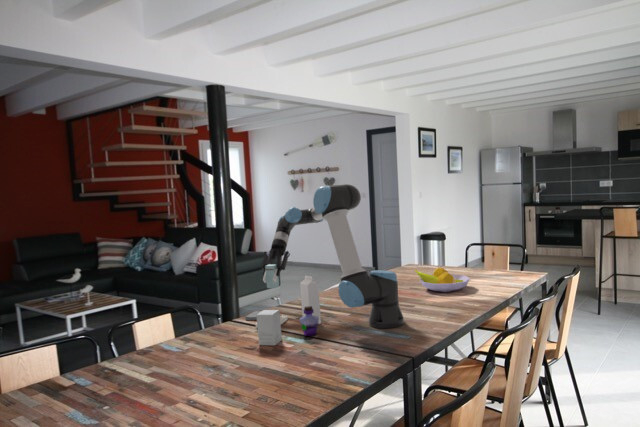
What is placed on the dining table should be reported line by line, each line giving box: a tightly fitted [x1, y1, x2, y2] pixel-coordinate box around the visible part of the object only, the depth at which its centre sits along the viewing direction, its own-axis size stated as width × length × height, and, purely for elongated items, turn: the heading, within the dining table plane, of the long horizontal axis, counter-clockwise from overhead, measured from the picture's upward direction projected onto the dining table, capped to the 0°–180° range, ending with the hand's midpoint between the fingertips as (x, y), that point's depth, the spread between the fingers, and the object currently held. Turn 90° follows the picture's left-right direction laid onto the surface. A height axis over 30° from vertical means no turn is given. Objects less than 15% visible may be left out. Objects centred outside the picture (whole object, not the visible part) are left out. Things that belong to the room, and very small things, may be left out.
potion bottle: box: [299, 306, 319, 338], centre depth 201 cm, size 9×9×12 cm
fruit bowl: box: [414, 267, 471, 293], centre depth 264 cm, size 28×27×11 cm
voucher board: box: [255, 314, 288, 329], centre depth 222 cm, size 14×10×2 cm
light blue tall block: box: [265, 263, 280, 289], centre depth 235 cm, size 5×4×11 cm
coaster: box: [245, 310, 261, 321], centre depth 235 cm, size 10×10×2 cm
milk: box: [299, 275, 322, 325], centre depth 216 cm, size 6×6×22 cm
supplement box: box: [256, 309, 283, 346], centre depth 194 cm, size 7×7×13 cm
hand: (269, 281), depth 231 cm, fingers closed on light blue tall block, 4 cm apart
